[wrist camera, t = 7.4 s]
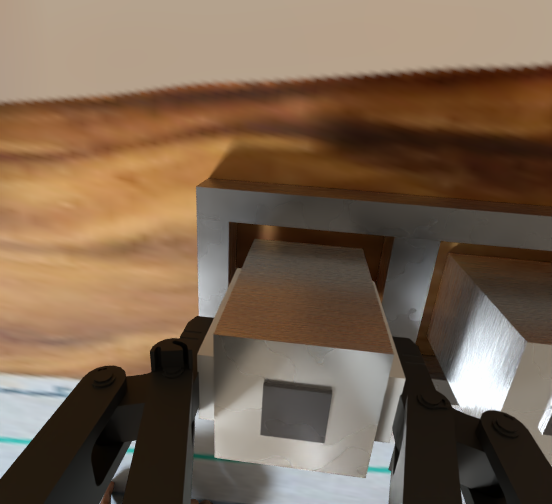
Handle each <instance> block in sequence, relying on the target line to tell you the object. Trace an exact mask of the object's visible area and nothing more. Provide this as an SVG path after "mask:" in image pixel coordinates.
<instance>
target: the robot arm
mask: <svg viewBox="0 0 552 504" xmlns="http://www.w3.org/2000/svg"><path fill="white" fill-rule="evenodd" d="M241 269H242V268H237V270H236V272H235V274H234V276H233V278H232V281H231V283H230V285H229V287H228V289H227V291H226V293H225V296H224V298H223V300H222V302H221V304H220V306H219V308H218V311H217V313H216V315H215V317H214V318H212V317H202V316H196V317H195V318H194V319H192V320H191V321H189V322H188V324H187V325H186V327H185V329H184V332H182V334H181V336H180V338H179V339H177V338H172V339H165V340H163V341H160V342H158V343H157V344H155V345H154V346H153V347H152V349H151V351H150V358H151V370H152V372H150V373H148V374H143V375H136V376H127V377H126V374H125V371H124V370H123V369H122V368H121V367H117V366H103V367H99V368H96V369H94V370H92V371H90V372H89V373H88V374H87V375H85V376H84V377H83V378H82V380H81V381H80V382H79V383H78V385H77V386H76V387H75V388H74V389H73V391H72V392H71V393H70V394H69V396H68V397H67V398H66V399H65V400H64V402H63V403H62V404H61V405H60V407H59V408H58V409H57V410H56V411H55V413H54V414H53V415H52V416H51V418H50V419H49V420H48V421H47V422H46V424H45V425H44V426H43V427H42V429H41V430H40V431H39V432H38V433H37V435H36V436H35V437H34V438H33V440H32V441H31V442H30V443H29V444H28V446H27V447H26V448H25V449H24V451H23V452H22V453H21V454H20V456H19V457H18V458H17V459H16V460H15V462H14V463H13V464H12V465H11V467H10V468H9V469H8V470H7V471H6V473H5V474H4V475H3V476H2V478H1V479H0V504H99V503H100V501H101V500H102V498H103V496H104V494H105V492H106V490H107V488H108V486H109V484H110V482H111V480H112V478H113V477H114V475H115V473H116V471H117V469H118V467H119V465H120V463H121V461H122V459H123V457H124V455H125V454H126V452H127V450H128V448H129V446H130V444H131V442H132V441H134V440H136V444H135V449H134V453H133V458H132V462H131V467H130V471H129V476H128V480H127V485H126V489H125V494H124V498H123V502H122V504H191V487H192V470H193V452H194V435H195V416H196V413H197V410H198V409H199V419H206V420H214V356H213V334H214V331H215V329H216V327H217V325H218V322H219V320H220V318H221V315H222V313H223V311H224V308H225V306H226V304H227V301H228V299H229V297H230V294H231V292H232V290H233V288H234V285H235V283H236V281H237V278H238V276H239V274H240V271H241ZM372 282H373V285H374V289H375V292H376V295H377V299H378V302H379V305H380V309H381V312H382V315H383V319H384V322H385V326H386V329H387V332H388V336H389V339H390V342H391V346H392V349H393V352H394V357H393V362H392V366H391V370H390V375H389V379H388V383H387V388H386V392H385V396H384V400H383V405H382V409H381V413H380V418H379V422H378V426H377V431H376V435H375V439H374V441H378V442H386V443H390V439H391V435H392V431H393V435H394V439H395V447H394V451H393V454H392V458H391V462H390V466H389V470H390V471H391V480H390V492H389V504H462V498H461V491H462V494H463V497H464V499H465V502H466V504H552V467H551V465H550V463H549V462H548V460H547V459H546V457H545V455H544V454H543V452H542V451H541V449H540V447H539V446H538V444H537V443H536V441H535V439H534V438H533V436H532V435H531V433H530V432H529V430H528V429H527V428H526V427H525V426H524V424H523V423H521V422H520V421H519V420H517V419H516V418H515V417H513V416H511V415H509V414H507V413H504V412H500V411H497V410H488V411H486V412H484V413H482V416H481V418H480V419H479V418H476V417H473V416H470V415H468V414H465V413H462V412H460V411H457V410H455V409H454V408H452V406H451V403H450V401H449V400H448V399H447V398H446V397H445V396H444V395H443V394H441V393H440V392H438V391H437V390H436V389H435V386H434V384H433V382H432V379H431V377H430V374H429V372H428V369H427V367H426V365H425V362H424V360H423V358H422V355H421V353H420V350H419V348H418V346H417V345H416V344H415V343H414V342H413V341H412V340H411V339H410V338H404V337H395V336H392V335H391V332H390V329H389V326H388V323H387V319H386V316H385V313H384V310H383V307H382V304H381V301H380V298H379V295H378V291H377V288H376V285H375V282H374V281H372Z"/></svg>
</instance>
